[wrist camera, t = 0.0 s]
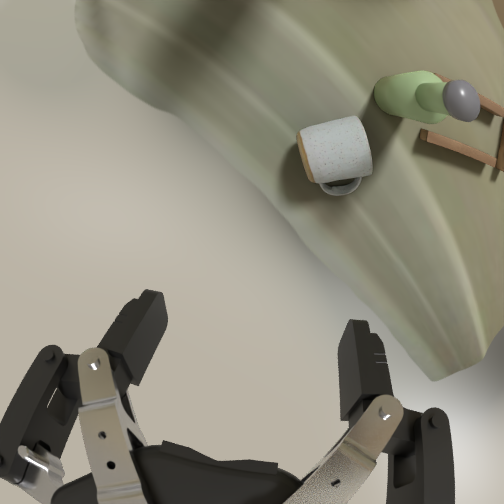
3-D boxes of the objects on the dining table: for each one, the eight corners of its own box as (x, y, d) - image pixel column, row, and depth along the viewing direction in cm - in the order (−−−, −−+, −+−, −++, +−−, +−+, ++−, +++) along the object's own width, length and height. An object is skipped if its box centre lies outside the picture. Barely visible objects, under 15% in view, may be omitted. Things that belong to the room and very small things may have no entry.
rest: (427, 73, 25) (435, 73, 23) (510, 115, 23) (518, 118, 21) (419, 138, 30) (426, 141, 28) (500, 169, 29) (509, 174, 26)
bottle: (375, 71, 27) (438, 55, 12) (412, 82, 26) (491, 83, 11) (371, 110, 30) (432, 122, 15) (408, 119, 29) (484, 144, 14)
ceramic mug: (293, 127, 33) (292, 135, 27) (351, 112, 31) (365, 117, 24) (315, 197, 38) (319, 221, 32) (369, 184, 36) (384, 205, 29)
